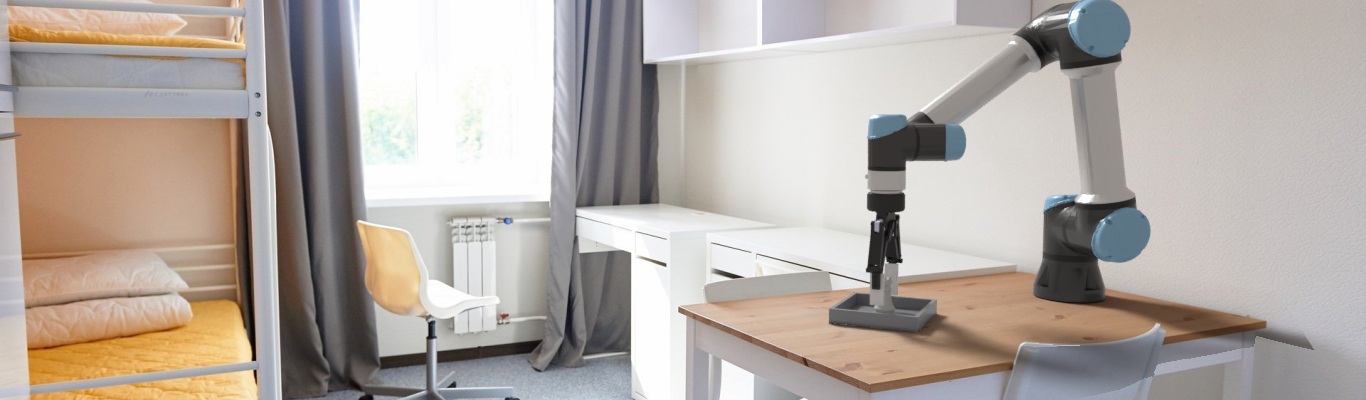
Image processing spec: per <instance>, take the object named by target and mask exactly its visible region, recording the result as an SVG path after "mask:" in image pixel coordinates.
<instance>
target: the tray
mask: <svg viewBox="0 0 1366 400" xmlns="http://www.w3.org/2000/svg"><path fill="white" fill-rule="evenodd" d="M891 299H892V303H893V306H894V307H895V311H894V312H895V313H896V314H888V313H878V312H875V310H874V306H875V305H870V292H869V293H868V292H855V291H854V292H852V293H850V294H849V295H847V296H845V298H843V299H841V300H840V301H838V302H837V303H835V304H833V305H832V306H831V307H829V308H828V324H830V323H836V324H835V325H839V324H847V325H846V326H849V325H855V326H854V327H858V326H864V327H863V328H868V327H872V328H871V329H877V328H882V329H881V330H887V329H890V331H896V330H898V331H899V332H906V331H907V333H915V332H918V333H919V332H920V331H921V330H922V329H923V328H924V327H925V326H926V325H927V324H928V323H929V322H930V321H931V320H932V319H933V318H934V317H935V316H936V315H937V313H938V312H937V309H938V299H934V298H933V299H932V298H924V297H914V296H913V297H912V296H900V295H891ZM924 325H925V326H924ZM920 329H921V330H920Z"/></svg>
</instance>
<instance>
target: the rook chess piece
mask: <svg viewBox="0 0 1366 400" xmlns="http://www.w3.org/2000/svg"><path fill="white" fill-rule="evenodd" d="M892 283H893V281H892V280H891V277H890V276H887V278H885V286H884V306H876V305H875V306H874V310H875V312H878V313H888V314H896V313H895V312H894V311H895V307H894V306H893V303H892V299H891V296H892V295H891V290H892V288H891V284H892Z"/></svg>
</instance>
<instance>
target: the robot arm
mask: <svg viewBox="0 0 1366 400" xmlns="http://www.w3.org/2000/svg"><path fill="white" fill-rule="evenodd" d="M1131 28H1132V27H1131V22H1130V18H1129V16H1128V14H1127V12H1126V11H1125V9H1124V8H1123V7H1122V6H1121V5H1119V4H1118V3H1117V2H1115V1H1114V0H1077V1H1072V2H1066V3H1059V4H1056V5H1053V6H1050V7H1049V8H1048V9H1047V8H1046V9H1045V10H1044V11H1043V12H1041V13H1039V14H1038V15H1037V16H1035V17H1034V18H1033V19H1032V20H1030V21H1028V23H1026V24H1024V25H1023V27H1021V28H1020V29H1018V30H1016V32H1015V33H1013V34H1011V36H1009V37H1008V40H1007V44H1006V45H1005V46H1004V47H1003V48H1001V49H1000V50H998V51H997V52H995V53H994V54H993V55H992V56H990V57H989V58H988V59H987V60H985V61H984V62H983V63H980V65H978V66H977V67H976V68H975V69H973V70H972V71H970V72H969V73H967V74H966V75H965V76H963V77H962V78H961V79H960V80H958V81H957V82H956V83H954V84H953V85H952V86H951V87H949V88H948V89H946V90H945V91H944V92H943V93H941V94H940V95H938V96H937V97H936V98H934V99H933V100H932V101H930V102H929V103H927V104H926V105H925V106H923V108H921V109H919V111H917V112H916V113H914V114H913V115H912V116H910V117H909V118H908V117H907V116H906V115H905V114H901V113H900V114H897V113H896V114H893V113H892V114H887V113H886V114H885V113H883V114H882V113H880V114H873V115H871V116H870V117H869V119H868V120H869V121H868V128H867V137H866V138H867V173H866V174H865V175H864V178H865V179H867V187H866V188H867V189H868V190H869V191H868V192H867V193H866V209H867V211H869V212H872V213H873V212H875V213H876V214H875V219H874V220H871V221H870V235H869V236H870V237H869V247H868V255H867V266H866V268H865V273H869V294H870V305H876V306H884V286H885V278H887V276H890V277H891V280H892V281H893V283H892V284H891V288H892V290H891V296H899V264H903V261H904V259H903V258H902V247H901V229H900V227H901V226H900V222H901V221H900V219H901V215H900V214H898V213H901V212H904V211H905V210H906V194H905V193H904V192H903V191H905V190H906V189H907V187H906V185H907V184H906V183H907V182H906V181H907V178H906V177H907V167H906V166H907V162H945V163H946V162H948V161H951V162H952V161H958V160H960V159H961V158H963V156H964V154H965V152H966V148H967V136H966V132H965V130H964V128H963V126H962V125H961V124H962V123H963V122H964V121H966V120H967V119H968V118H970V117H971V116H972V115H974V114H976V113H977V112H979V111H980V110H981V109H982V108H983V107H985V106H986V105H987V104H988V103H990V102H991V101H993V100H994V99H995V98H997V97H999V96H1000V94H1002V93H1003V92H1005V91H1006V90H1008V89H1009V88H1010V87H1011V86H1012V85H1014V84H1016V83H1017V82H1018V81H1020V80H1021V79H1022V78H1023V77H1024V76H1026V75H1028V73H1038V72H1039V71H1041V70H1042V69H1044V68H1045V67H1046V66H1048V65H1050V64H1053V63H1055V62H1058V61H1059V69H1060V72H1061V73H1063V74H1064V75H1066V76H1067V77H1068V79H1069V87H1070V95H1071V96H1070V97H1071V106H1072V115H1073V124H1074V132H1075V133H1074V134H1075V142H1076V151H1077V153H1076V154H1077V160H1078V170H1079V179H1080V187H1081V188H1080V189H1081V190H1080V192H1079V193H1078V194H1077V193H1075V194H1057V195H1056V194H1053V195H1049V196H1047V197H1046V199H1045V201H1044V206H1043V211H1042V214H1043V225H1042V227H1043V229H1042V230H1043V232H1042V238H1043V239H1042V258H1041V259H1042V260H1041V263H1040V265H1039V268H1038V271H1037V273H1036V276H1035V277H1034V278H1035V279H1034V281H1033V284H1032V294H1033V295H1034V296H1036V297H1038V298H1041V299H1045V300H1050V301H1056V302H1064V303H1097V302H1101V301H1104V300H1105V299H1106V290H1107V289H1106V286H1105V282H1104V280H1103V276H1102V272H1101V270H1100V269H1101V268H1100V265H1099V260H1100V261H1102V262H1105V263H1106V262H1107V263H1115V264H1118V263H1119V264H1121V263H1127V262H1130V261H1132V260H1134V259H1136V258H1137V257H1139V256H1140V255H1141V253H1142V252H1143V250H1145V249H1146V247H1147V246H1148V243H1149V241H1150V238H1151V233H1152V231H1151V224H1150V221H1149V219H1148V218H1147V215H1145V214H1144V213H1143V212H1142V211H1141V210H1139V209H1138V205H1137V198H1136V197H1137V196H1136V193H1135V192H1134V191H1132V190H1131V189H1130V188H1129V187H1128V186H1127V179H1126V171H1125V159H1124V149H1123V141H1122V140H1123V138H1122V130H1121V122H1120V120H1121V119H1120V111H1119V109H1120V108H1119V101H1118V100H1119V99H1118V92H1117V89H1118V88H1117V82H1116V70H1117V69H1118V68H1119V66H1120V65H1121V64H1122V63H1123V60H1122V59H1123V58H1122V50H1123V49H1124V48H1125V47H1126V46H1127V45H1126V44H1127V43H1128V42H1129V40H1130V37H1131V32H1132V29H1131ZM885 261H886V262H885Z"/></svg>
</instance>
